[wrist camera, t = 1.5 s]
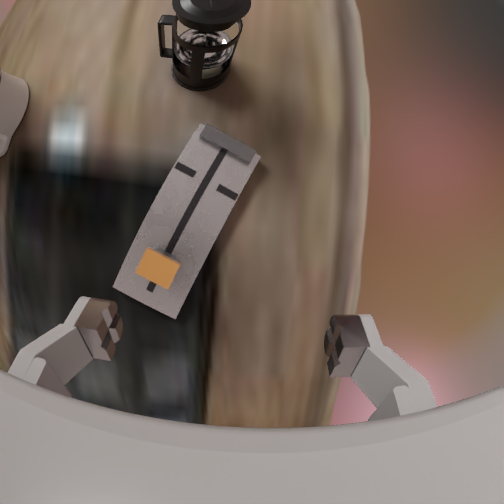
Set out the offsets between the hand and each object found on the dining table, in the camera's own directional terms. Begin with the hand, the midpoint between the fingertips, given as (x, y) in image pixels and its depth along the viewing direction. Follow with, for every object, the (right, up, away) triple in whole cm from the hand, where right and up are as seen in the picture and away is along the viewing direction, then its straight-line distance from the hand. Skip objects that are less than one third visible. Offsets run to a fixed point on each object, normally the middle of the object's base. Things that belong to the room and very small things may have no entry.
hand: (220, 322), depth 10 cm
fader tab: (-11, +2, +27) cm, 29 cm away
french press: (-8, +32, +28) cm, 44 cm away
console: (-8, +7, +30) cm, 32 cm away
